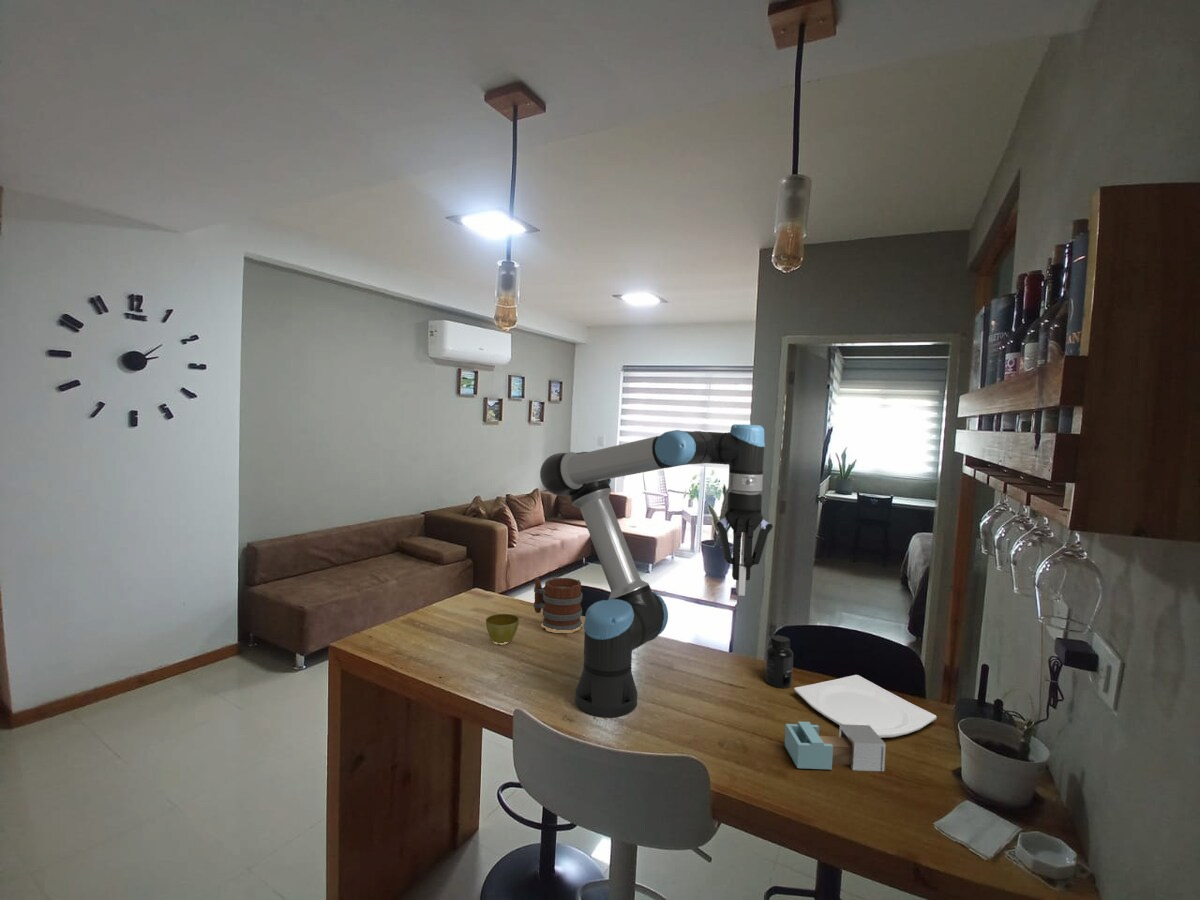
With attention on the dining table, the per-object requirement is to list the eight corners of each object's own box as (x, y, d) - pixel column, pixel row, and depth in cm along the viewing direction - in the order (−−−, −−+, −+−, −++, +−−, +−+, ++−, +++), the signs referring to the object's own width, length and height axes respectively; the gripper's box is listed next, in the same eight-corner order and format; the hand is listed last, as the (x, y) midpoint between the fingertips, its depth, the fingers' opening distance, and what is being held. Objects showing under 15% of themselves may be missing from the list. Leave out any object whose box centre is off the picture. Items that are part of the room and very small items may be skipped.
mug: (565, 638, 168) (566, 591, 167) (520, 624, 178) (521, 579, 178) (591, 625, 179) (592, 581, 178) (547, 612, 190) (548, 571, 189)
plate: (868, 751, 113) (869, 739, 113) (786, 696, 135) (786, 686, 135) (945, 729, 123) (945, 718, 122) (856, 681, 145) (856, 672, 145)
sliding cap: (797, 768, 105) (798, 742, 105) (784, 745, 113) (785, 720, 113) (831, 769, 105) (833, 743, 105) (816, 746, 113) (817, 722, 113)
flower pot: (502, 633, 170) (503, 611, 170) (525, 641, 164) (526, 618, 164) (478, 642, 162) (478, 619, 161) (501, 651, 156) (501, 627, 156)
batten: (813, 764, 108) (813, 745, 107) (806, 754, 111) (807, 735, 111) (872, 767, 107) (873, 747, 107) (864, 756, 111) (865, 737, 111)
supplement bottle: (793, 690, 138) (795, 645, 138) (766, 687, 139) (768, 642, 139) (789, 678, 145) (791, 635, 144) (763, 675, 146) (765, 632, 146)
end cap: (852, 770, 106) (854, 742, 106) (838, 750, 112) (839, 724, 112) (884, 771, 106) (885, 743, 105) (867, 751, 112) (869, 725, 112)
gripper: (719, 492, 118) (714, 597, 119) (778, 495, 118) (773, 600, 119) (713, 489, 126) (708, 587, 127) (768, 491, 125) (764, 589, 126)
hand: (740, 593), depth 123 cm, fingers closed
